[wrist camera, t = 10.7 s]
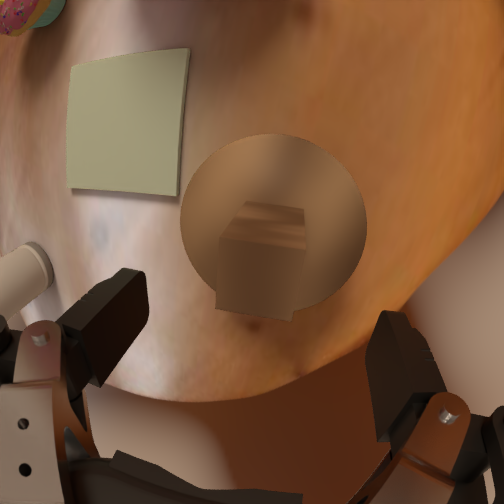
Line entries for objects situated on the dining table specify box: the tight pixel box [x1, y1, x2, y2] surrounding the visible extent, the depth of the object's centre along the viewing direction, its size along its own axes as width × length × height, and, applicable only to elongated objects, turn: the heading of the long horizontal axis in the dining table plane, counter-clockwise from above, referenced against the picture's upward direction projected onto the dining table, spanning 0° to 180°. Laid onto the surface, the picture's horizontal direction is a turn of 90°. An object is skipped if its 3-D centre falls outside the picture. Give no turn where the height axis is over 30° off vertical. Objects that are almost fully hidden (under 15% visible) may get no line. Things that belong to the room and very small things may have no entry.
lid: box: [180, 134, 367, 322], centre depth 15 cm, size 11×11×7 cm
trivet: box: [66, 48, 191, 196], centre depth 21 cm, size 12×12×1 cm
